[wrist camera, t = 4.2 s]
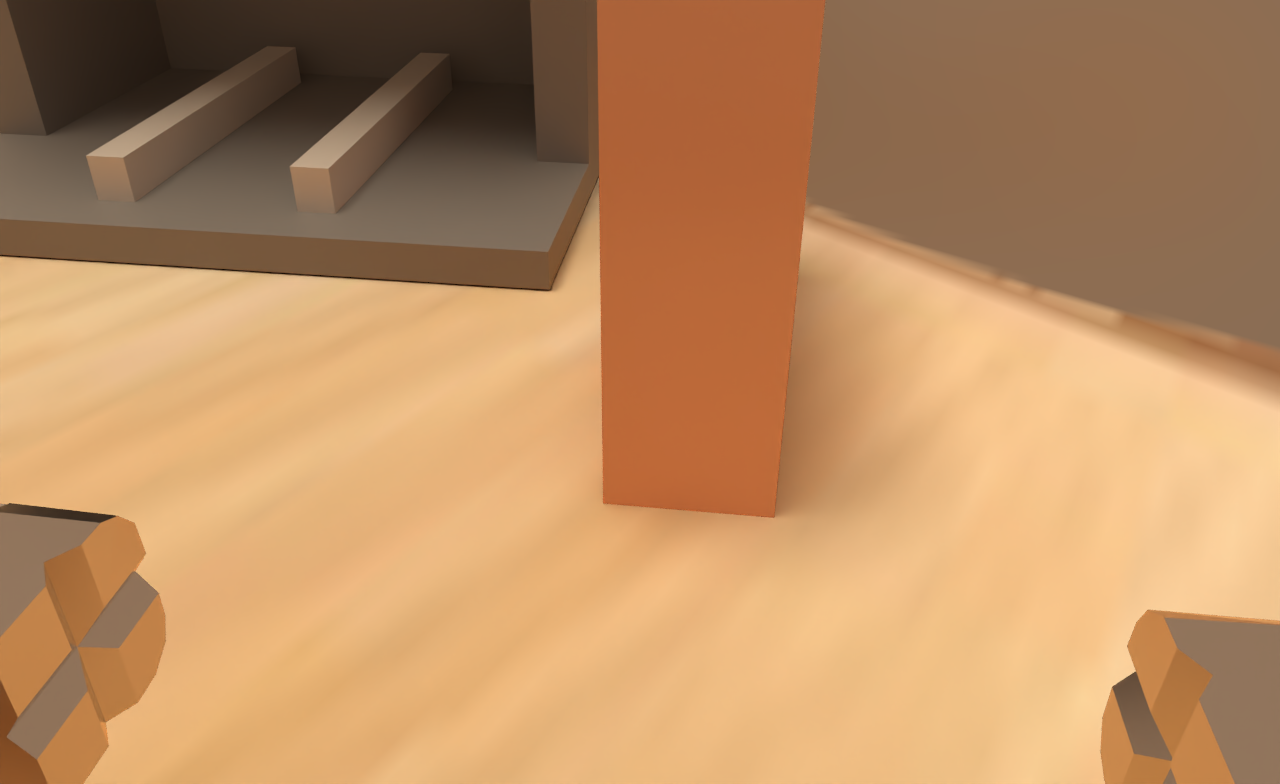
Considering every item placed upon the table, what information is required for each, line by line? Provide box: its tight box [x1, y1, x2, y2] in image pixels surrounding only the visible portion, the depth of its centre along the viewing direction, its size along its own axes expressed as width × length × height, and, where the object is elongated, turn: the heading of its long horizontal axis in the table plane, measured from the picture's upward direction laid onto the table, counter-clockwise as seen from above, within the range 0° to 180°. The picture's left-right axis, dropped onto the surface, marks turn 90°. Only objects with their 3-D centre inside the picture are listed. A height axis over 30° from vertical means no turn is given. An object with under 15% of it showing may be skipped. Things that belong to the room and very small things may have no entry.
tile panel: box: [597, 0, 825, 518], centre depth 20 cm, size 10×3×10 cm, turn 173°
